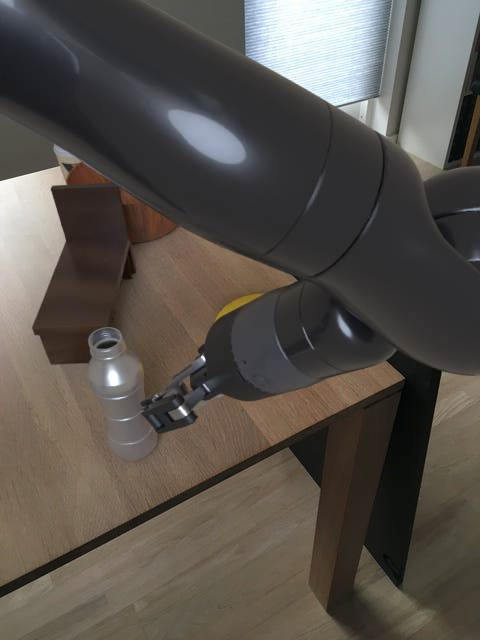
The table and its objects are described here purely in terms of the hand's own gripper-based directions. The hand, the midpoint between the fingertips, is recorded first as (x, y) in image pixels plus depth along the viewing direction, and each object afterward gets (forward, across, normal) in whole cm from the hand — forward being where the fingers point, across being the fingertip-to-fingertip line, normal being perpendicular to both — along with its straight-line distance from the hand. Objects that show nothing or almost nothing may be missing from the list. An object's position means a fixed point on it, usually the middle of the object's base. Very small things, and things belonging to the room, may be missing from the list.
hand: (177, 381), depth 54 cm
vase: (+19, -26, +9) cm, 34 cm away
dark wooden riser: (+39, -16, -11) cm, 43 cm away
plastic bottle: (+21, 0, +7) cm, 22 cm away
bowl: (+49, -41, -21) cm, 67 cm away
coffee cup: (+63, -44, -35) cm, 84 cm away
